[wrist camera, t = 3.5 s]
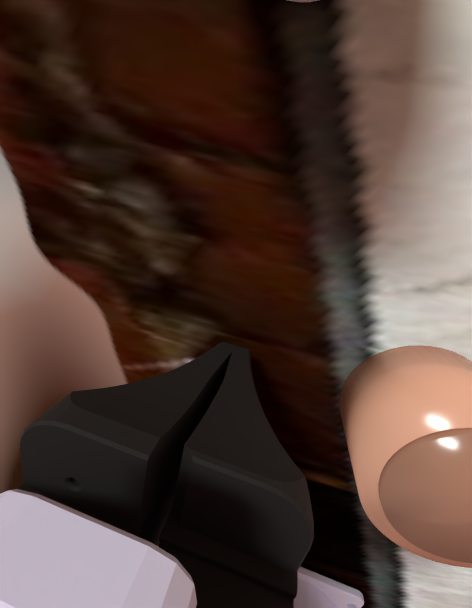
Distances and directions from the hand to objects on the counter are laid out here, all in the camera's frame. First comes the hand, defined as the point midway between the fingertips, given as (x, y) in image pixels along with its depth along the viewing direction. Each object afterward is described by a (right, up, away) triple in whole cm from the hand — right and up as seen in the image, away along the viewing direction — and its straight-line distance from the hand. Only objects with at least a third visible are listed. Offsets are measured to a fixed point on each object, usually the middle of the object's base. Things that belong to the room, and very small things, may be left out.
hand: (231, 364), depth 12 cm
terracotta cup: (+8, -2, 0) cm, 8 cm away
